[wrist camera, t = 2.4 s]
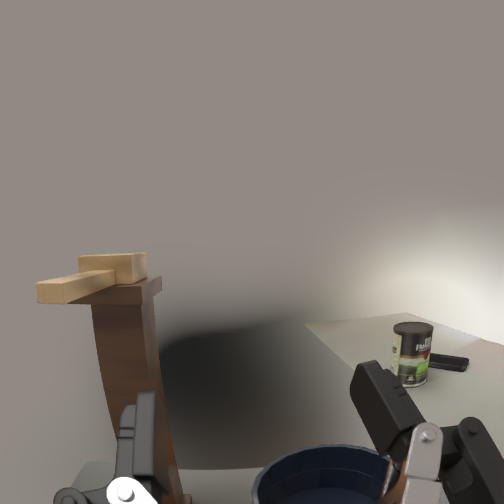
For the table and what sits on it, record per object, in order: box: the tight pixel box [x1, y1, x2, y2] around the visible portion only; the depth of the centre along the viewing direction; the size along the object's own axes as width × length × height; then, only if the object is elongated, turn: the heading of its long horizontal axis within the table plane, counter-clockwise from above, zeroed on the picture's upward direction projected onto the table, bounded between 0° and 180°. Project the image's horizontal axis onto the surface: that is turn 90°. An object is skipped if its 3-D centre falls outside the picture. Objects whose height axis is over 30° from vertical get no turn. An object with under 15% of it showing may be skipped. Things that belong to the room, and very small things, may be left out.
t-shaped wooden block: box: [36, 253, 147, 304], centre depth 21 cm, size 14×5×2 cm, turn 5°
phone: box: [428, 353, 469, 371], centre depth 70 cm, size 8×1×15 cm
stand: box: [67, 276, 192, 504], centre depth 27 cm, size 8×7×32 cm
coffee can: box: [390, 322, 433, 387], centre depth 66 cm, size 10×10×14 cm
